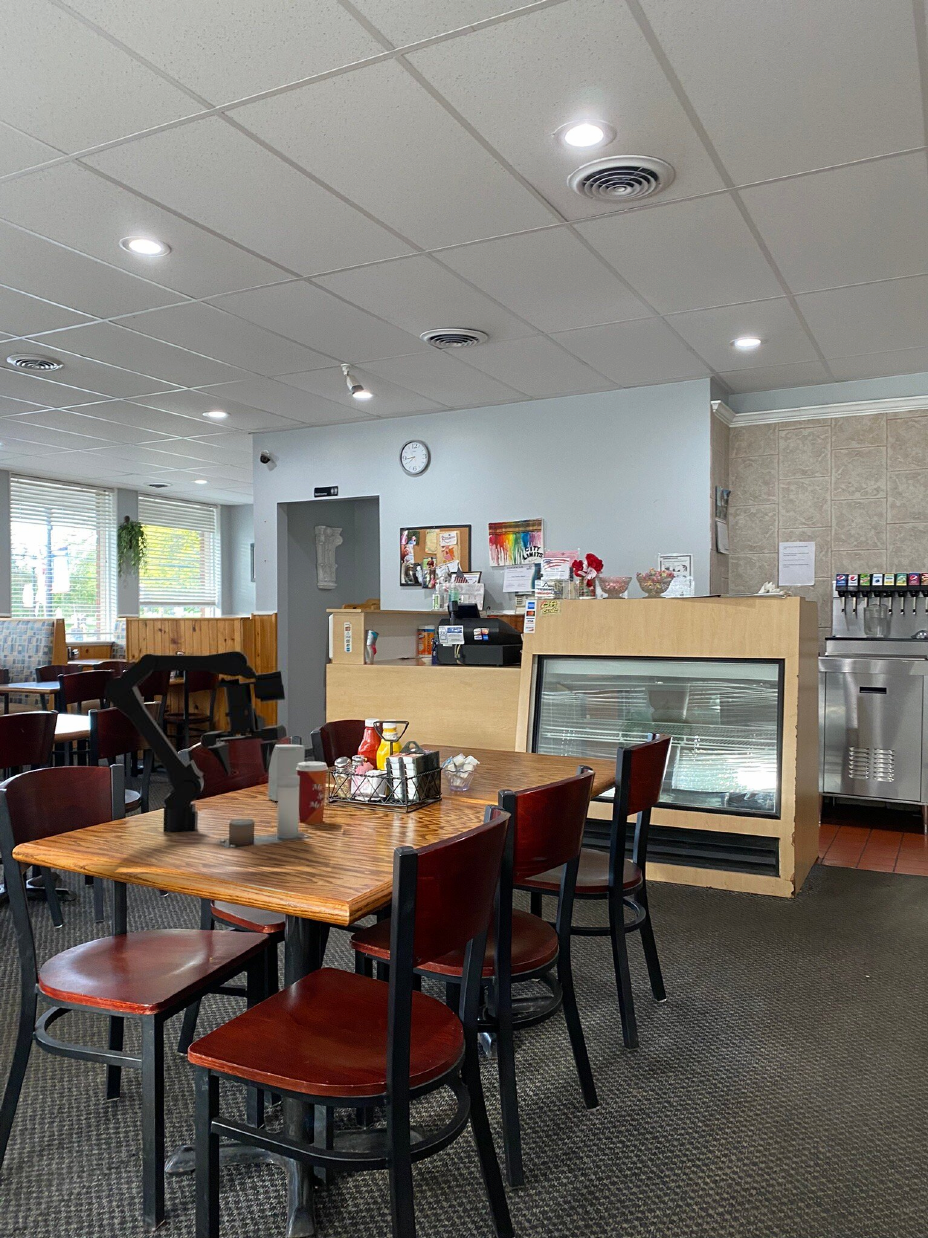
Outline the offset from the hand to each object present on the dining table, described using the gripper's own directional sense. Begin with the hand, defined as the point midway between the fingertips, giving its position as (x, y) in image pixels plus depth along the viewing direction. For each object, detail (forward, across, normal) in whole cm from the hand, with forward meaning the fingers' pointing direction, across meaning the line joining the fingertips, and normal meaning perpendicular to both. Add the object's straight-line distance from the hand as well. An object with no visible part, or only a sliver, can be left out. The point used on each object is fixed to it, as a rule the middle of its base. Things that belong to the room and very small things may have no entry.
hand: (247, 773), depth 203 cm
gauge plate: (+14, -7, +10) cm, 19 cm away
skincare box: (+14, +9, -40) cm, 43 cm away
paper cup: (+15, -8, -13) cm, 22 cm away
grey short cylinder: (+12, -4, +14) cm, 19 cm away
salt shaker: (+13, -11, +7) cm, 18 cm away
